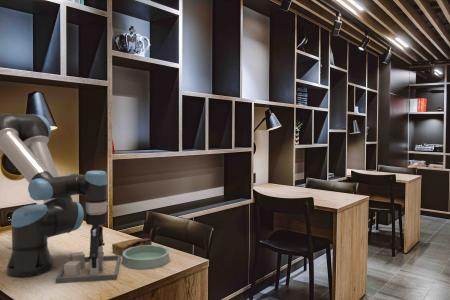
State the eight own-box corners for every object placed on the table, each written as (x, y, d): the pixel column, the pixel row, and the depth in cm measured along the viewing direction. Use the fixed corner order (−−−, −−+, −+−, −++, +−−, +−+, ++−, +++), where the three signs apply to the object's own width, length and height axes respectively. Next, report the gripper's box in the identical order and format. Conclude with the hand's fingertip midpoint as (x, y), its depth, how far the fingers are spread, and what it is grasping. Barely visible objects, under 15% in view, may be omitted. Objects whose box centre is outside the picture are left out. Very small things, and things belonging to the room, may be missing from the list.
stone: (120, 258, 154) (120, 245, 154) (111, 252, 162) (111, 240, 161) (152, 251, 164) (153, 239, 164) (142, 246, 171) (142, 234, 171)
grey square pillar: (89, 272, 138) (89, 256, 138) (91, 268, 143) (91, 252, 142) (102, 271, 139) (102, 255, 139) (103, 267, 144) (103, 251, 143)
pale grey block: (72, 269, 141) (72, 256, 141) (70, 265, 145) (70, 253, 144) (84, 267, 143) (84, 254, 143) (82, 263, 147) (82, 251, 147)
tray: (55, 283, 128) (55, 278, 128) (68, 261, 149) (68, 257, 149) (116, 279, 132) (116, 274, 132) (120, 258, 153) (120, 255, 153)
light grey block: (64, 278, 132) (64, 264, 132) (69, 274, 136) (69, 260, 136) (75, 279, 132) (75, 265, 132) (80, 274, 136) (80, 261, 136)
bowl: (121, 270, 141) (121, 261, 141) (124, 254, 159) (124, 246, 158) (169, 267, 145) (169, 258, 144) (167, 252, 162) (167, 244, 162)
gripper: (103, 220, 129) (103, 281, 130) (110, 205, 153) (110, 257, 154) (80, 220, 127) (80, 283, 128) (90, 206, 151) (91, 258, 152)
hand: (96, 269), depth 141 cm, fingers open, 12 cm apart
